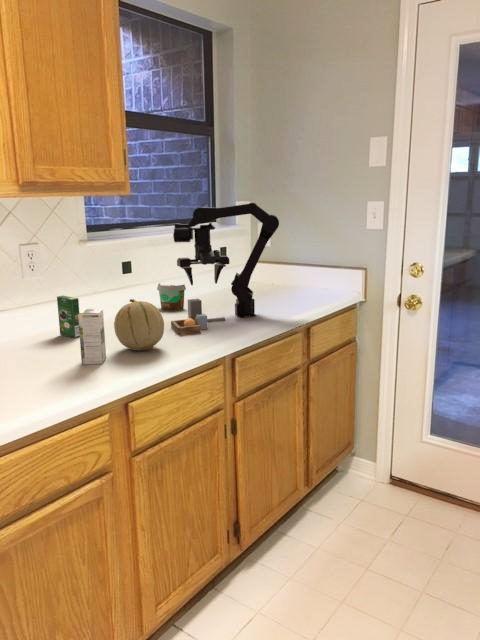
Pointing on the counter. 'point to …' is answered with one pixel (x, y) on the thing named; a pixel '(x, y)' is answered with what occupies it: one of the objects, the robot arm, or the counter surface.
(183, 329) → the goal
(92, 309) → the syrup box
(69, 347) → the counter surface
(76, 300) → the coffee box
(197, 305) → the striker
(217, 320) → the rail
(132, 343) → the cantaloupe
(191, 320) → the ball
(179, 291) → the food container
